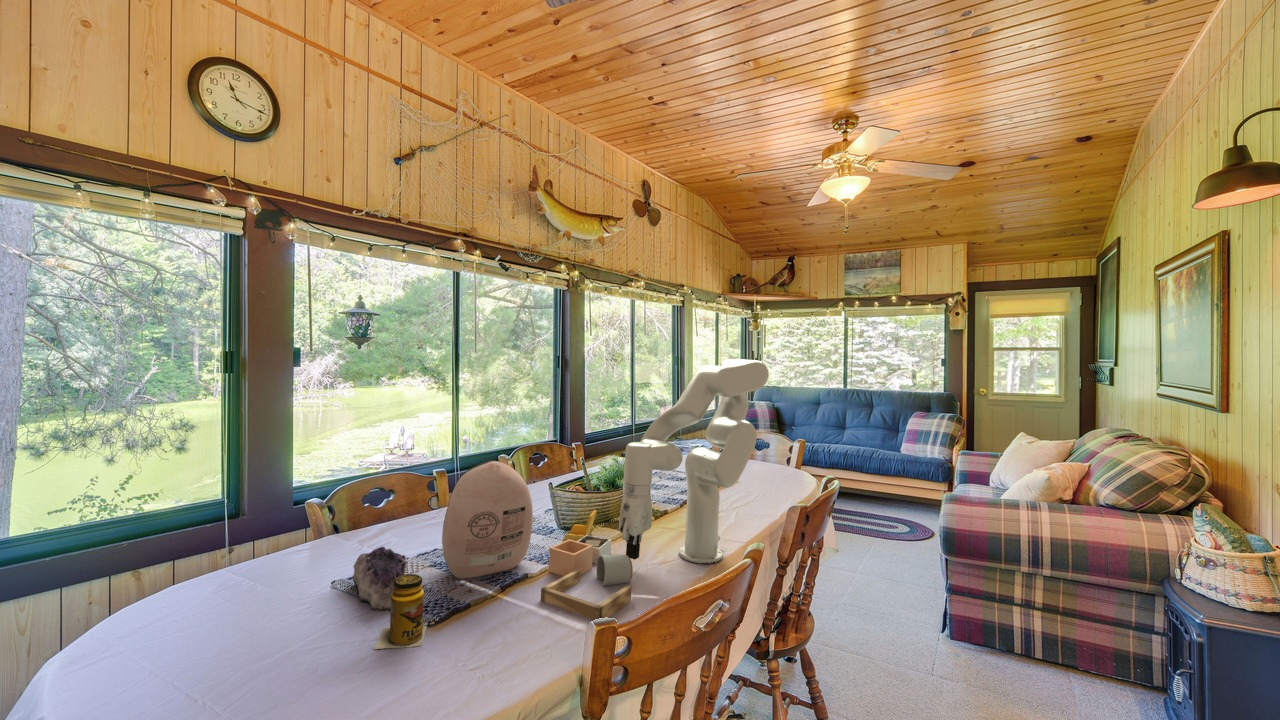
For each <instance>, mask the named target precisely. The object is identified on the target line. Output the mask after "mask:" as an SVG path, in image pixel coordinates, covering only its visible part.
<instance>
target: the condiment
mask: <svg viewBox="0 0 1280 720" xmlns="http://www.w3.org/2000/svg"><path fill="white" fill-rule="evenodd" d="M424 597H425V592H424V589H423V577H422V576H421V575H419V574H415V573H413V574H412V573H407V574H405V575H403V576H400V577H398V578H397V579H395V581H394V588H393V593H392V595H391V610H390V616H389V617H390V620H389V622H390V623H389V624H390V625H389V627H388V628H387V627H386V628H383V629H382V631H381V633H380V635H379V638H378V640H377V642H376V644H375V646H374V648H373V649H374V650H378V649H380V650H381V649H382V650H383V649H390V648H392V649H395V648H397V649H398V648H399V649H400V648H412V647H420V646H422V644H423V641H424V638H425V634H426V632H427V628H428V625H424V607H425V606H424V602H425V601H424ZM423 625H424V626H423Z"/></svg>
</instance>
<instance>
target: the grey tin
mask: <svg viewBox="0 0 1280 720" xmlns="http://www.w3.org/2000/svg"><path fill="white" fill-rule="evenodd" d="M587 540H594V541H601V546H600V547H599V548H597V547H593V554H592V564H596V565H597V560H598V557H599V556H600V555H612V554H611V553H612V539H611V538H606V537H600V536H595V535H585V536H584V537H582V538H581V539H580V540H578V541H577V542H581V543H586V541H587Z"/></svg>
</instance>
